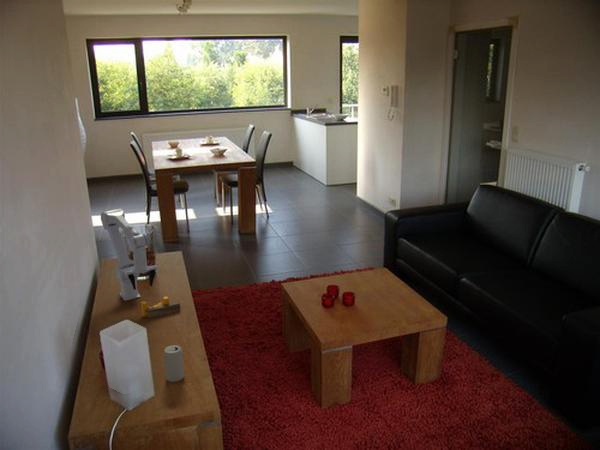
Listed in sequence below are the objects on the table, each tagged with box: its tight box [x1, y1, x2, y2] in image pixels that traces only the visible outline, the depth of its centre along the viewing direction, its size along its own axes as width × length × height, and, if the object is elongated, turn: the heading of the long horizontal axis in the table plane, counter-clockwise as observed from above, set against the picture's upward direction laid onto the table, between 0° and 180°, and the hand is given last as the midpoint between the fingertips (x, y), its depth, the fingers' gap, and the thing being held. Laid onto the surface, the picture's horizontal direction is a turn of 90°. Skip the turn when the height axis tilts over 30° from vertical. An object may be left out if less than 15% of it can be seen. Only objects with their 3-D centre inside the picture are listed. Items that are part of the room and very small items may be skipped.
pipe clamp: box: [140, 295, 170, 318], centre depth 231 cm, size 12×4×6 cm, turn 122°
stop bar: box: [146, 301, 181, 319], centre depth 230 cm, size 2×15×4 cm, turn 123°
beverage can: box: [163, 344, 185, 383], centre depth 180 cm, size 6×6×12 cm
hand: (142, 287), depth 236 cm, fingers open, 7 cm apart
